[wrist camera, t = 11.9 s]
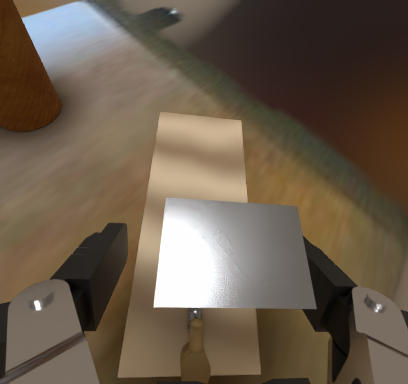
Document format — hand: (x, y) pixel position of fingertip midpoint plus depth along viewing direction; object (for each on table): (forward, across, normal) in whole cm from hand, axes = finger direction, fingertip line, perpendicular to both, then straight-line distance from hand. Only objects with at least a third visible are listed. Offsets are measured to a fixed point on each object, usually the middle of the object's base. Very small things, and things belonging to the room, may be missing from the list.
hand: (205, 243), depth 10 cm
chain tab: (+4, 0, +4) cm, 5 cm away
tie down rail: (+8, 0, +2) cm, 8 cm away
